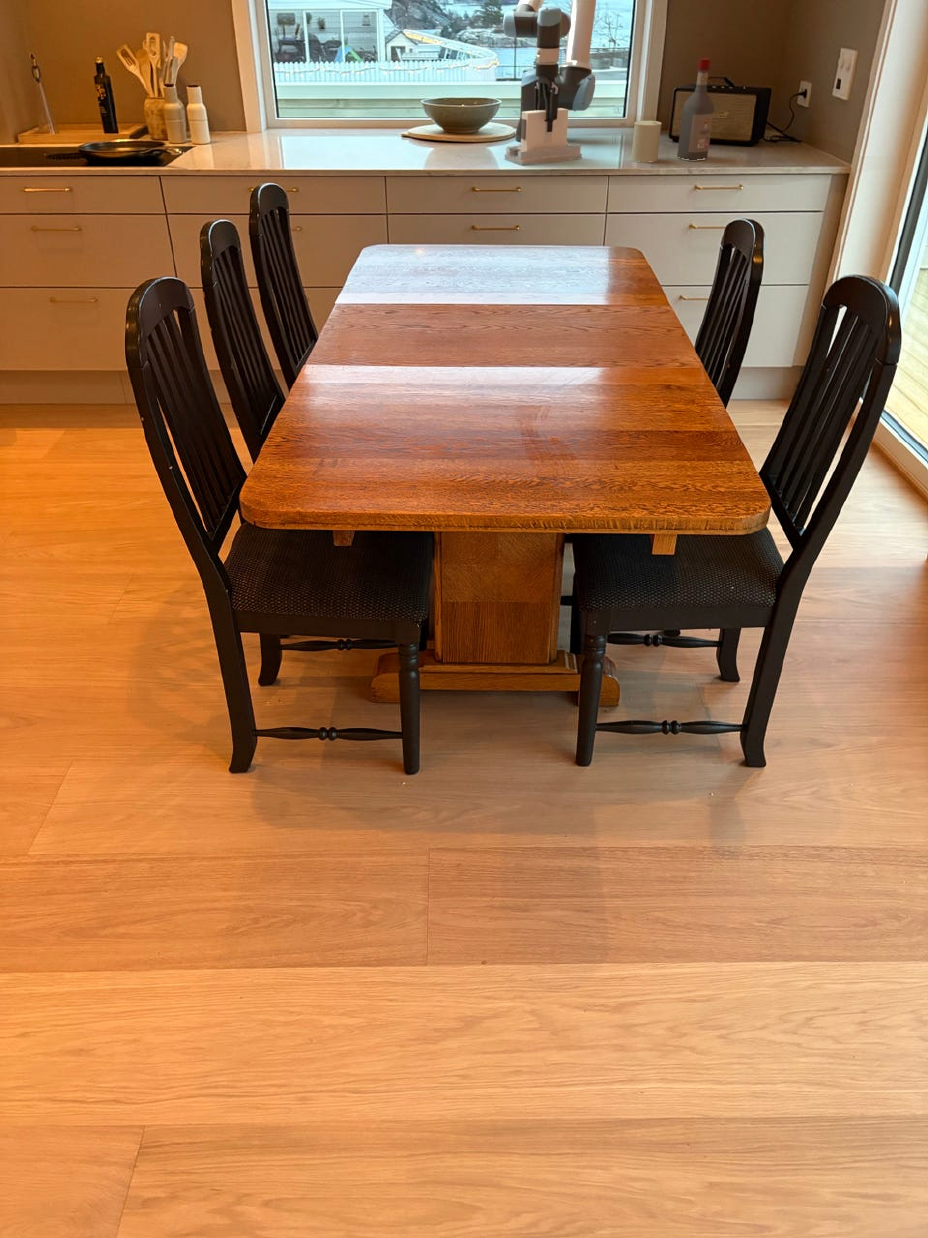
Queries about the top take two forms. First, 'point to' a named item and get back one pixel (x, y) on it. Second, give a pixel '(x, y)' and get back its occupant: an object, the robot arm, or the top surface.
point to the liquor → (697, 118)
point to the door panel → (542, 129)
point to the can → (646, 141)
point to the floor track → (542, 154)
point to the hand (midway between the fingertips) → (544, 140)
